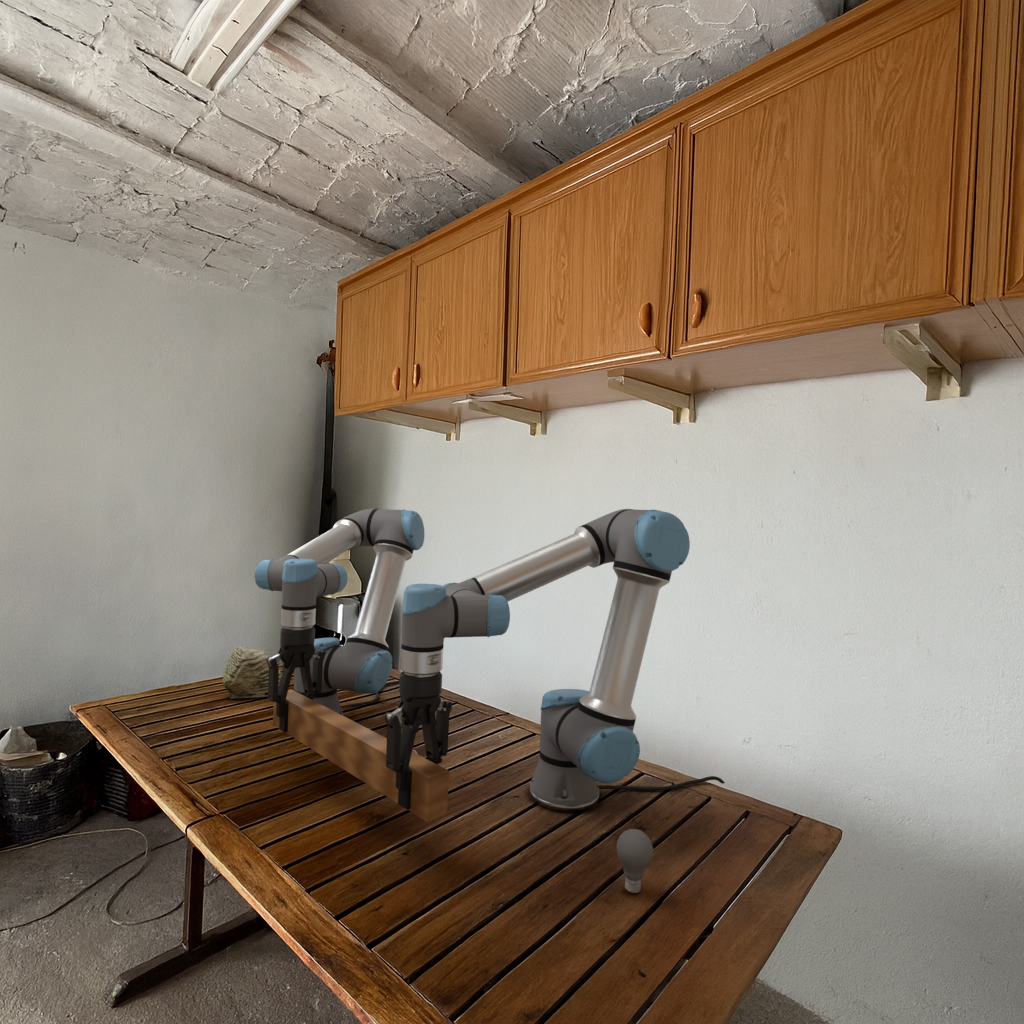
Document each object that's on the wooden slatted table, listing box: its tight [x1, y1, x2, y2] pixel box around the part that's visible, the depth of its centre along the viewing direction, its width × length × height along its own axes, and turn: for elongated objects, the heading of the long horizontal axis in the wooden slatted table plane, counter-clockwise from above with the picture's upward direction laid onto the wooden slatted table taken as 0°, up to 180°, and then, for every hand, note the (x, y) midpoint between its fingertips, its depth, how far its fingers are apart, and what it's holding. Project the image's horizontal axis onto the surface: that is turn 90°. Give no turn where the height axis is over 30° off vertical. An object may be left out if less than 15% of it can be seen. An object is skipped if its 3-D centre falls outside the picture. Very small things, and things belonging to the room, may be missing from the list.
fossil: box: [222, 646, 282, 699], centre depth 198 cm, size 9×18×15 cm, turn 132°
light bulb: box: [615, 828, 654, 894], centre depth 106 cm, size 6×6×10 cm
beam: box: [272, 689, 450, 823], centre depth 129 cm, size 59×4×8 cm, turn 45°
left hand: (294, 727), depth 145 cm, fingers closed on beam, 4 cm apart
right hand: (416, 801), depth 113 cm, fingers closed on beam, 4 cm apart
